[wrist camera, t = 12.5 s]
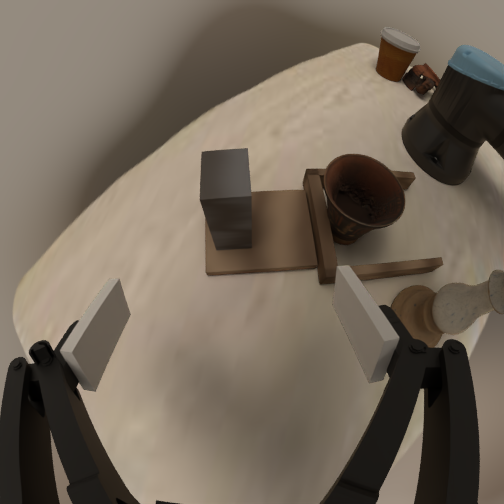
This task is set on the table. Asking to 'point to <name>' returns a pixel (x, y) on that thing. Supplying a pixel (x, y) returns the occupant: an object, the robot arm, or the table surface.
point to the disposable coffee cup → (395, 53)
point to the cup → (361, 197)
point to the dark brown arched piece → (424, 84)
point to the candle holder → (448, 307)
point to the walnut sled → (276, 224)
